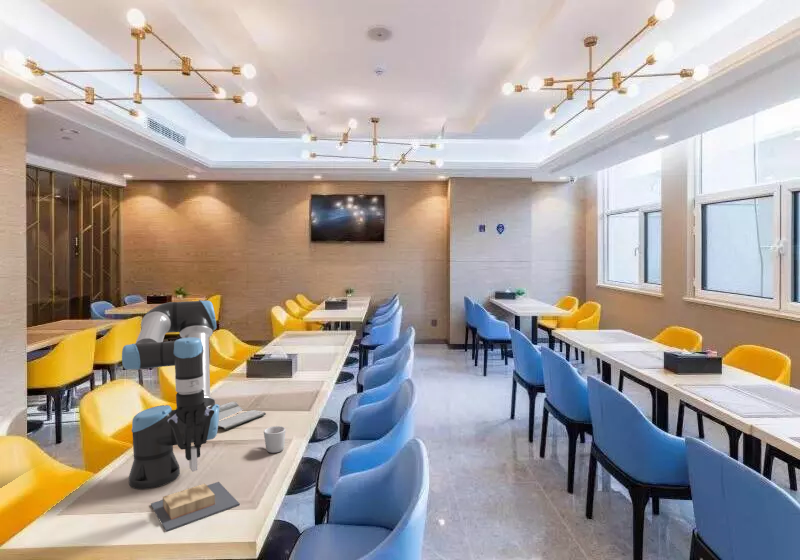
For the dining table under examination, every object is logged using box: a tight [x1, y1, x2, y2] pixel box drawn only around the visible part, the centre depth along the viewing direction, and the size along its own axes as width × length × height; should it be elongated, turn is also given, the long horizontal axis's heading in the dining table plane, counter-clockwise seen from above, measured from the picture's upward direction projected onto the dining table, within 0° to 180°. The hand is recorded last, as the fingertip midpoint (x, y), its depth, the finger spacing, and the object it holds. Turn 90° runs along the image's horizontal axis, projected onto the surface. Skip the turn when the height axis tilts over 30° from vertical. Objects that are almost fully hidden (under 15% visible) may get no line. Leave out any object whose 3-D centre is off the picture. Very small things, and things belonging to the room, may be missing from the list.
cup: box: [263, 425, 286, 454], centre depth 178 cm, size 11×8×8 cm
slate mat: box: [150, 481, 241, 533], centre depth 139 cm, size 18×20×1 cm
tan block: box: [162, 483, 215, 520], centre depth 138 cm, size 9×3×12 cm
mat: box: [218, 400, 267, 432], centre depth 212 cm, size 23×24×5 cm
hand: (193, 469), depth 138 cm, fingers closed
